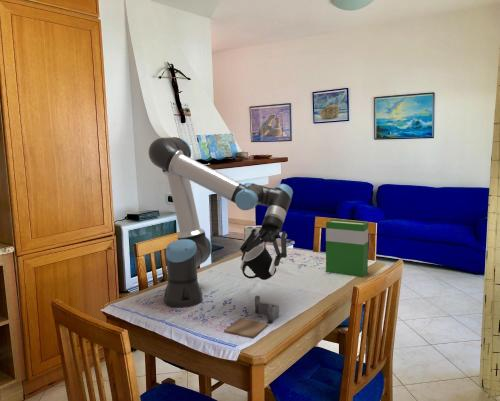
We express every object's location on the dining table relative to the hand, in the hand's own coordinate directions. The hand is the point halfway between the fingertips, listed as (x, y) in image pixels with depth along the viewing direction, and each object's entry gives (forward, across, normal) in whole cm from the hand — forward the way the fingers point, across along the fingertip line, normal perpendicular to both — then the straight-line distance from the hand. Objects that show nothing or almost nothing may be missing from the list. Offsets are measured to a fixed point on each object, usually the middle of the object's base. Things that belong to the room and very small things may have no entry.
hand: (256, 271), depth 157 cm
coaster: (+20, -2, -4) cm, 20 cm away
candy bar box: (-38, +37, -62) cm, 82 cm away
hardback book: (-32, -15, -56) cm, 67 cm away
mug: (-1, -2, -5) cm, 6 cm away
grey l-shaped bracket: (+11, -3, -12) cm, 17 cm away
